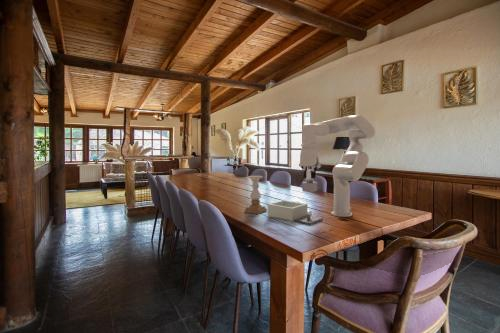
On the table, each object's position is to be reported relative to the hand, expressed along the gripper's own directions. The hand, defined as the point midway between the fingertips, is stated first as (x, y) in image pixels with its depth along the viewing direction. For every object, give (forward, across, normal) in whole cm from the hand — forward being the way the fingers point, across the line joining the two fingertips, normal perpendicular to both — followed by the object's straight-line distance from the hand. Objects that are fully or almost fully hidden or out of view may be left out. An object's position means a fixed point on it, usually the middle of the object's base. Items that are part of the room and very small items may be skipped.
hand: (309, 177), depth 157 cm
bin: (+25, -15, -1) cm, 29 cm away
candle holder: (+25, -39, -4) cm, 47 cm away
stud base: (+25, 0, -1) cm, 25 cm away
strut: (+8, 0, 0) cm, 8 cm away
